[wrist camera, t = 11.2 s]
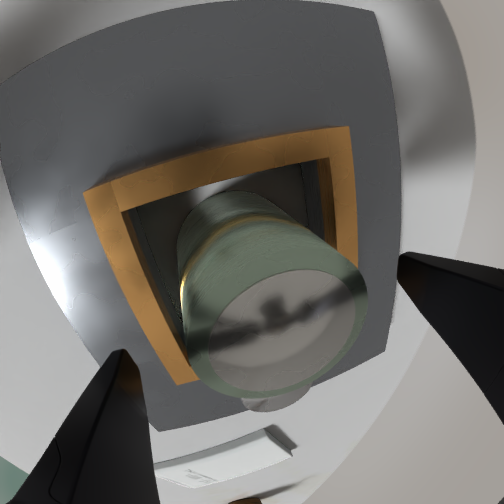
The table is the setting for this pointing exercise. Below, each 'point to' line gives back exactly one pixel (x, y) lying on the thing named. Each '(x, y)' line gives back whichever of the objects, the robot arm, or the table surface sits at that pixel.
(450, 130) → the table surface
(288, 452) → the external hard drive
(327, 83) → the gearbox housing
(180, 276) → the can
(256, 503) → the utensil holder
